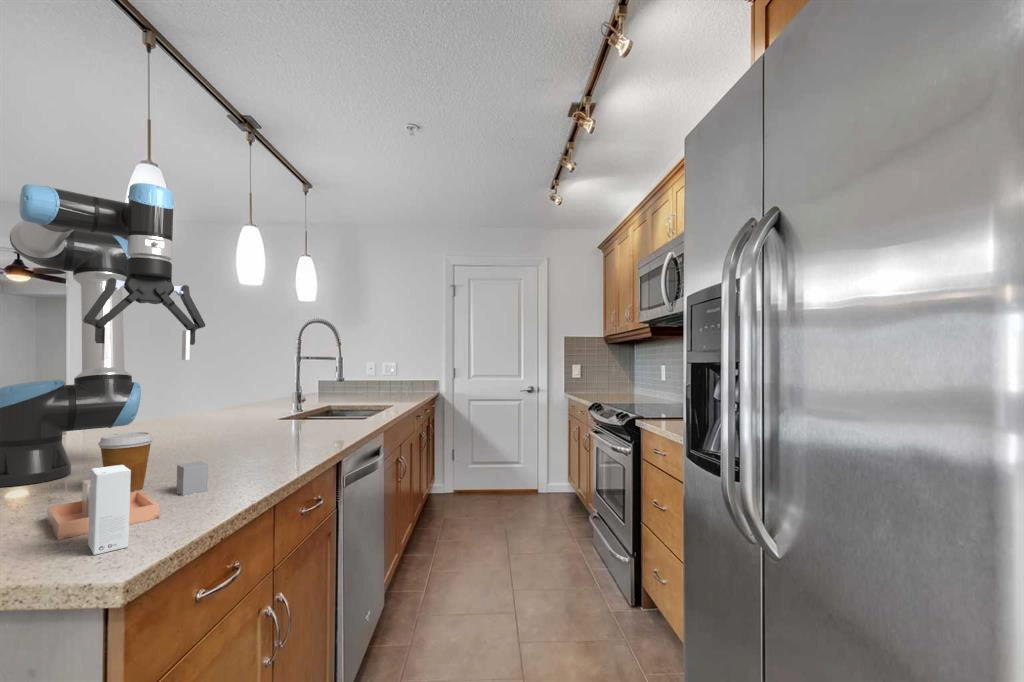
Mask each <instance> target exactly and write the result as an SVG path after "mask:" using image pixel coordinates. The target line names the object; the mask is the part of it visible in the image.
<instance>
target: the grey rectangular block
mask: <svg viewBox="0 0 1024 682" xmlns="http://www.w3.org/2000/svg"><path fill="white" fill-rule="evenodd" d="M208 467H209V464H208V463H207V462H203V461H194V462H187V463H186V462H185V463H180V464H176V493H177V492H178V493H179V494H178V493H177V494H178V495H180V494H181V495H180V496H182V497H186V496H185V495H188V496H190V495H189V494H193V493H198V494H200V493H199V492H203V493H206V492H205V491H207V492H208V476H209V475H208V474H209V473H208V472H209V471H208V470H209V468H208ZM193 495H194V494H193Z"/></svg>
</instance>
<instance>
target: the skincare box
mask: <svg viewBox="0 0 1024 682" xmlns="http://www.w3.org/2000/svg"><path fill="white" fill-rule="evenodd" d="M90 479H91V481H90V505H89V532H88V534H87V535H88V536H87V537H88V538H87V545H88V548H89V549H90V550H91V552H92V555H94V556H95V555H101V554H105V553H108V552H109V553H110V552H113V551H116V550H117V551H118V550H121V549H127V548H128V547H129V538H130V537H129V536H130V535H129V533H130V525H129V512H130V480H131V470H130V469H128V468H127V467H125V466H124V465H116V466H108V467H103V466H101V467H94V468H91V469H90Z"/></svg>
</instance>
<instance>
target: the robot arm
mask: <svg viewBox="0 0 1024 682" xmlns="http://www.w3.org/2000/svg"><path fill="white" fill-rule="evenodd" d="M127 198H128V202H125V201H124V202H123V201H120V200H119V201H118V200H114V199H108V198H104V197H99V196H94V195H88V194H84V193H77V192H74V191H69V190H64V189H59V188H54V187H51V186H48V185H38V184H30V183H28V184H24V185H23V186H22V187H21V191H20V196H19V216H20V218H21V219H22V220H21V221H19V222H18V223H16V224H15V225H14V226H13V227H12V229H10V232H9V241H10V245H11V247H12V248H13V249H14V251H15V252H16V253H17V254H18V255H20V256H21V257H23V258H24V259H26V261H29V262H30V263H32V264H35V265H38V266H41V267H43V268H47V269H52V270H56V271H63V272H64V271H65V272H72V276H73V277H72V278H73V280H74V281H75V282H77V283H78V284H79V285H80V301H81V302H80V303H81V304H80V306H81V309H80V310H81V313H80V315H81V319H80V320H81V321H80V323H81V372H80V373H79V374H77V375H76V376H75V377H74V379H73V381H74V382H73V384H66V382H65V381H64V379H50V380H39V381H30V382H22V383H15V384H9V385H4V386H2V387H0V487H1V488H3V487H4V488H5V487H15V486H26V485H32V484H37V483H43V482H48V481H49V482H50V481H53V480H58V479H61V478H64V477H67V476H69V475H71V473H72V472H71V471H72V464H71V461H70V459H69V457H68V455H67V451H66V449H65V447H64V445H63V432H64V433H65V432H72V431H74V432H75V431H82V430H83V431H84V430H85V431H87V430H94V429H107V428H108V429H112V428H115V427H116V428H117V427H123V426H124V427H125V426H129V425H130V424H131V423H133V421H134V420H135V419H136V417H137V416H138V415H137V414H138V411H139V408H140V403H141V398H142V397H141V394H142V388H141V385H140V383H138V382H136V381H133V380H132V379H133V376H132V374H131V373H129V372H128V371H126V370H125V349H124V348H125V346H124V345H125V342H124V340H125V339H124V337H125V335H124V310H125V309H126V308H128V306H130V305H131V304H133V303H134V302H137V303H138V304H151V305H160V304H161V305H162V306H164V307H165V308H166V309H167V310H168V311H169V312H170V313H171V314H172V315H173V316H174V317H175V318H176V319H177V321H178V322H180V324H182V326H183V327H184V328H185V329H184V330H182V333H181V341H182V342H181V361H189V360H190V359H191V358H190V357H191V355H190V354H191V353H190V352H191V346H192V345H193V346H194V345H195V344H196V331H197V330H199V329H204V328H205V327H206V323H205V321H204V319H203V317H202V314H201V313H200V312H199V309H198V308H197V306H196V305H195V303H194V301H193V298H192V297H191V293H190V286H188V284H184V285H174V284H173V282H172V277H173V274H172V273H173V271H172V270H173V264H172V262H171V260H173V236H174V235H173V231H174V209H175V205H174V194H173V193H172V191H171V190H169V189H168V188H165V187H164V186H160V185H156V184H152V183H145V182H137V183H133V184H131V185H130V186H129V190H128V195H127ZM123 288H124V289H125V291H126V292H127V294H128V295H126V296H125V297H124V298H123ZM173 292H175V293H176V296H179V297H180V300H181V301H182V303H183V305H184V307H185V309H186V311H187V313H188V314H189V316H190V318H191V319H190V318H189V317H188V316H187V315H186V313H184V311H182V310H181V309H180V307H179V306H178V305H177V304H176V303H175V301H174V300H173V299H172V298H171V296H170V295H171V294H172V293H173Z"/></svg>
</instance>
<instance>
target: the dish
mask: <svg viewBox="0 0 1024 682" xmlns="http://www.w3.org/2000/svg"><path fill="white" fill-rule="evenodd" d="M46 511H47V512H46V513H47V515H46V516H47V518H46V521H48V522H47V523H48V525H49V527H50V529H51V528H52V529H51V530H52V532H53V534H54V535H55V537H56V540H58V541H59V540H65V539H68V538H69V537H70V538H74V537H78V536H83V535H88V532H89V517H87V518H85V517H84V515H83V514H82V500H79V501H74V502H73V501H72V502H68V503H63V504H62V503H61V504H56V505H52V506H47V509H46ZM157 519H160V503H158V501H156V500H154V499H153V498H152V497H150V496H149V495H147V494H146V493H145V492H143V491H142V490H136V491H132V492H130V512H129V526H130V525H133V524H139V523H144V522H146V521H147V522H148V521H153V520H157Z"/></svg>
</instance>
